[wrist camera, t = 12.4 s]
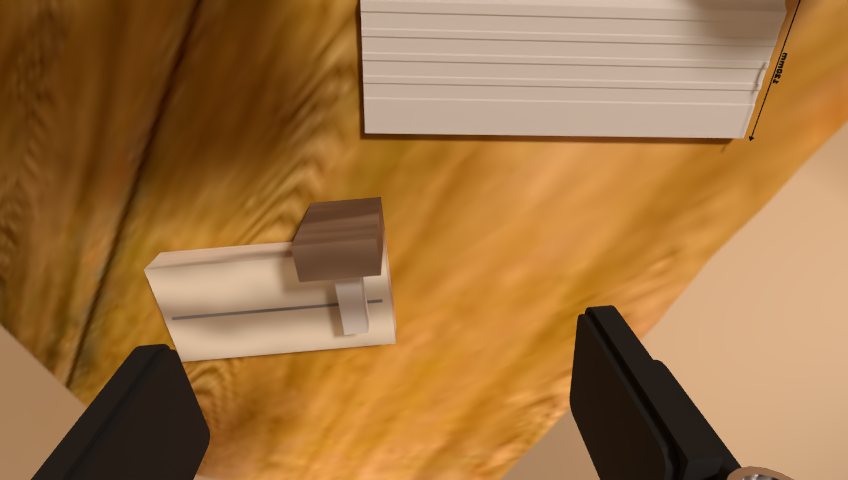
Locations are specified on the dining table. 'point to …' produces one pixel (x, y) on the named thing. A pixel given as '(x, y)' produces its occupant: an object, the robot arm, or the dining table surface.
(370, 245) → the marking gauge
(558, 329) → the dining table surface
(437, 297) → the dining table surface
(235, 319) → the birch plank
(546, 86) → the baseboard
